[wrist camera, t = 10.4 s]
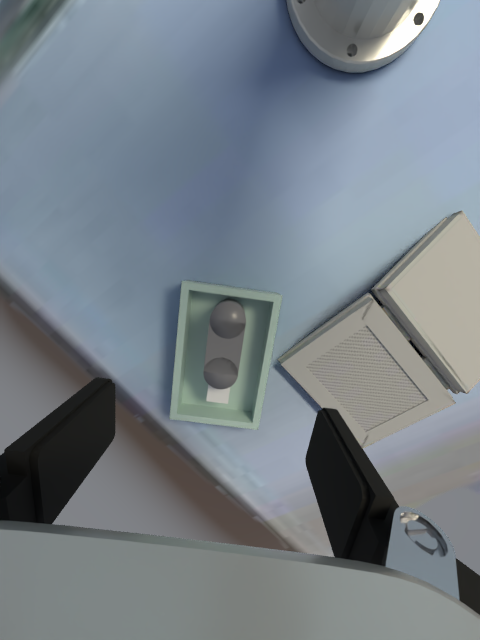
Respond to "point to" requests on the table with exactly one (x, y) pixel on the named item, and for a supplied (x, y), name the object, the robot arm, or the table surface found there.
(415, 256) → the gadget
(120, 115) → the table surface
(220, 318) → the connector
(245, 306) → the tray
